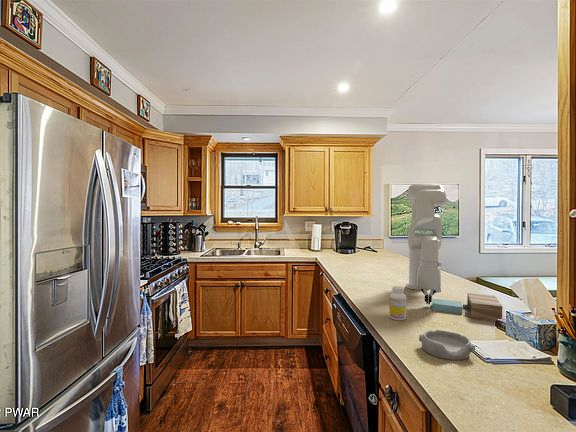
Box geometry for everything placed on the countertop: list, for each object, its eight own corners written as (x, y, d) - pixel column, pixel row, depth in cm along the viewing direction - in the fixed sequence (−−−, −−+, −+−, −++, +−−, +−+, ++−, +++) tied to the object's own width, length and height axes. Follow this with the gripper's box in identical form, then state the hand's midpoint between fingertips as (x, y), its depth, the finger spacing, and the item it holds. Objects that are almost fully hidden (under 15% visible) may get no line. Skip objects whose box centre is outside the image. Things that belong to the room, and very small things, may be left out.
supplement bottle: (394, 314, 140) (394, 284, 139) (408, 318, 135) (409, 287, 135) (386, 318, 135) (386, 287, 135) (401, 322, 130) (402, 290, 130)
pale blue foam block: (432, 304, 155) (432, 298, 155) (460, 308, 150) (460, 301, 150) (432, 310, 146) (432, 303, 146) (462, 313, 142) (462, 307, 141)
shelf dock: (462, 305, 153) (462, 292, 153) (494, 309, 148) (495, 295, 148) (465, 317, 137) (466, 302, 137) (502, 322, 132) (502, 306, 132)
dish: (480, 359, 99) (481, 343, 99) (443, 364, 95) (444, 348, 95) (445, 340, 113) (445, 326, 113) (411, 344, 109) (412, 330, 109)
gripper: (446, 264, 151) (445, 303, 152) (412, 261, 157) (411, 299, 158) (447, 267, 144) (446, 308, 145) (411, 264, 150) (410, 303, 151)
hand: (428, 303), depth 151 cm, fingers closed
